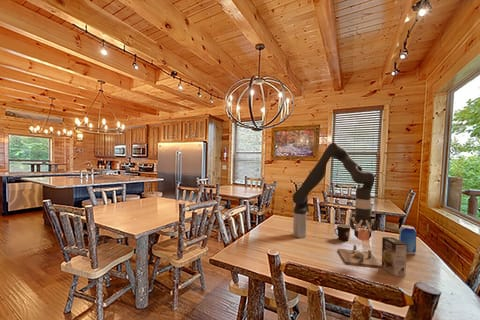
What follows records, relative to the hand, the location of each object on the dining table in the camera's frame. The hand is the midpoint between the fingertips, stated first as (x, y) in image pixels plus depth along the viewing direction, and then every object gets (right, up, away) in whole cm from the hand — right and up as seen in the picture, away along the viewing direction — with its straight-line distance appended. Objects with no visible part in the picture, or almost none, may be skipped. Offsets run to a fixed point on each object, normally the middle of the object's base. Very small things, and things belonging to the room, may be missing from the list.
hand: (362, 237), depth 118 cm
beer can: (+38, -15, +16) cm, 44 cm away
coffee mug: (+5, -15, +36) cm, 39 cm away
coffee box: (+11, -15, -8) cm, 20 cm away
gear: (0, -1, 0) cm, 1 cm away
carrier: (+1, -14, +6) cm, 16 cm away
